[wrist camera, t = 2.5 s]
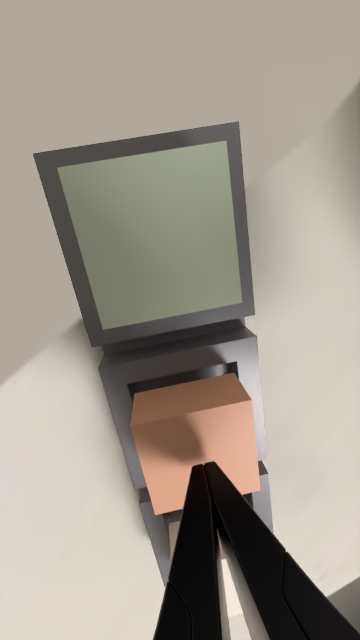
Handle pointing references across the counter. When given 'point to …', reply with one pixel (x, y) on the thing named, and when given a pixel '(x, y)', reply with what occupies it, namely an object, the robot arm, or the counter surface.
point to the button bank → (166, 321)
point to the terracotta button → (194, 436)
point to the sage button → (156, 232)
